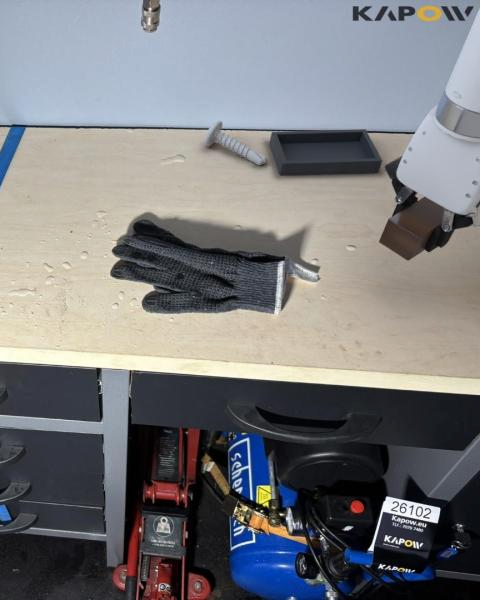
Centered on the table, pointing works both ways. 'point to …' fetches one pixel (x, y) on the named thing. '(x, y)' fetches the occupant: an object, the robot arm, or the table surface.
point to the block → (412, 228)
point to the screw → (231, 144)
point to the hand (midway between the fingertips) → (416, 234)
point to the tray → (324, 152)
